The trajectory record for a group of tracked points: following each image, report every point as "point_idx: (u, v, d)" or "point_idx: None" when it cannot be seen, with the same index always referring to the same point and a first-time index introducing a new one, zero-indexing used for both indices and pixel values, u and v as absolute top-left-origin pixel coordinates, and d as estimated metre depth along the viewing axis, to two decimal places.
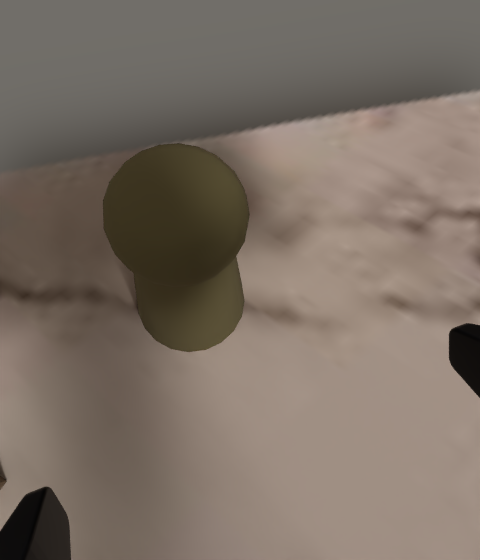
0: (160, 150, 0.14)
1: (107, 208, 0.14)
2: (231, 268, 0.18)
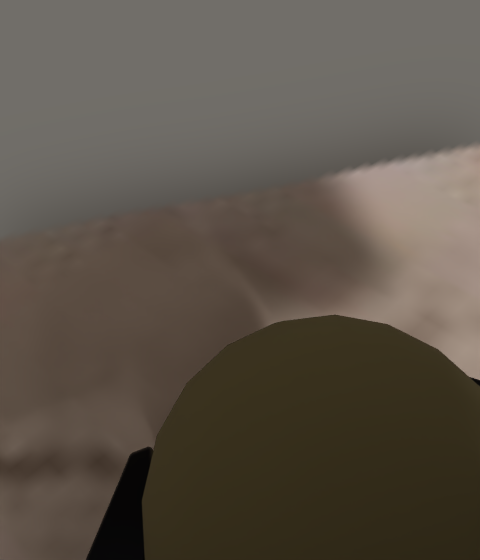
0: (309, 361, 0.05)
1: None
2: None
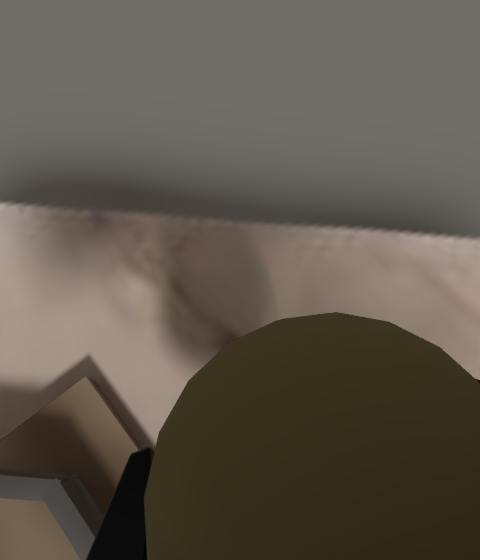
0: (311, 358, 0.05)
1: None
2: None
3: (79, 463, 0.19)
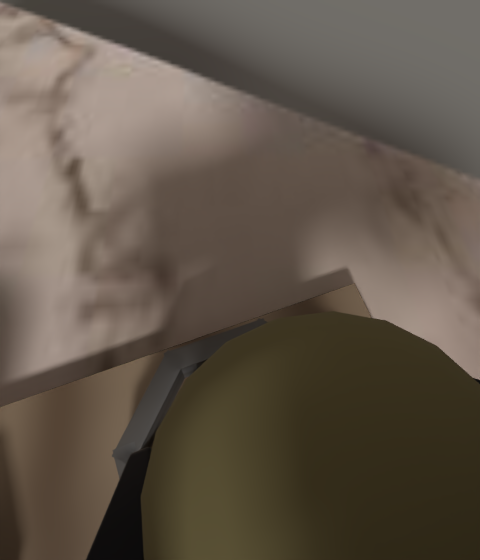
0: (307, 357, 0.05)
1: None
2: None
3: None
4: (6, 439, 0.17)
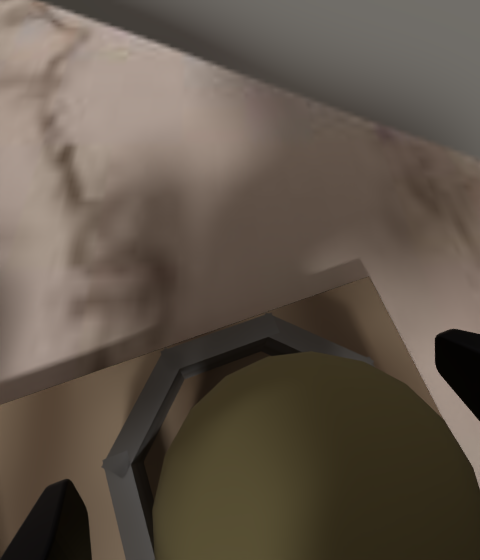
0: (291, 397, 0.06)
1: None
2: None
3: None
4: None
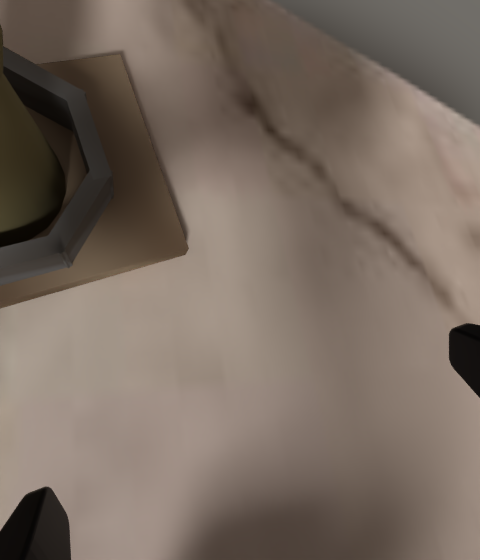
0: None
1: None
2: (5, 132, 0.13)
3: (92, 115, 0.21)
4: None
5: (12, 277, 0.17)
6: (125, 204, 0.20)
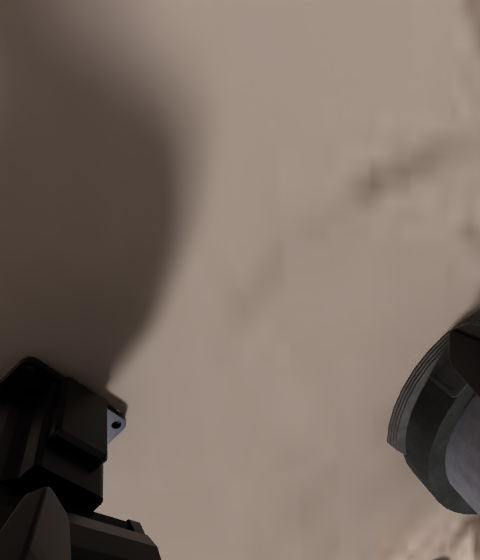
0: None
1: None
2: None
3: None
4: None
5: None
6: None
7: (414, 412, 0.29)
